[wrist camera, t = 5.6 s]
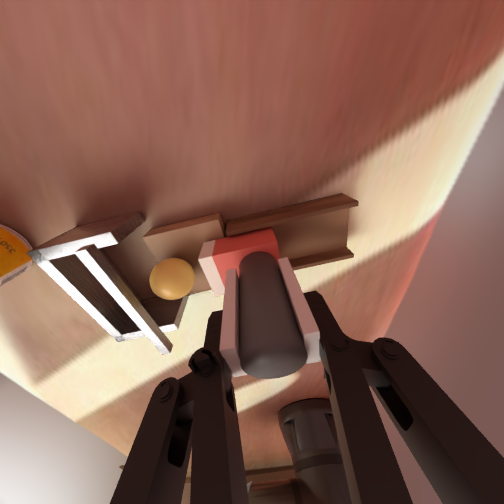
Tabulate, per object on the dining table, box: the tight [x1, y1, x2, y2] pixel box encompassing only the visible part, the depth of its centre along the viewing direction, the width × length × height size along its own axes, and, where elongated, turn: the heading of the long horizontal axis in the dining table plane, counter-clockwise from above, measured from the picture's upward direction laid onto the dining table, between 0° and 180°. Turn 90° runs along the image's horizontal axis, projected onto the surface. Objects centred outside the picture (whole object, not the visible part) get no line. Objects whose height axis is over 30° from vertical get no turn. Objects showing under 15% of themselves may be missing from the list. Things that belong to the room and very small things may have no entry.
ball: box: [150, 258, 195, 300], centre depth 18 cm, size 4×4×4 cm
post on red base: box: [198, 227, 308, 379], centre depth 14 cm, size 4×7×11 cm, turn 102°
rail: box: [226, 193, 359, 270], centre depth 19 cm, size 6×12×3 cm, turn 102°
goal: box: [26, 211, 188, 354], centre depth 18 cm, size 12×7×8 cm, turn 12°
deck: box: [142, 213, 228, 295], centre depth 20 cm, size 8×8×2 cm
